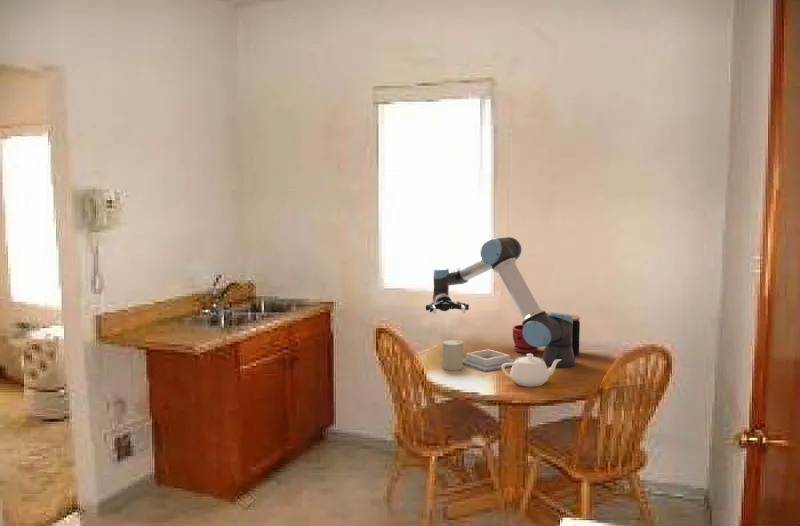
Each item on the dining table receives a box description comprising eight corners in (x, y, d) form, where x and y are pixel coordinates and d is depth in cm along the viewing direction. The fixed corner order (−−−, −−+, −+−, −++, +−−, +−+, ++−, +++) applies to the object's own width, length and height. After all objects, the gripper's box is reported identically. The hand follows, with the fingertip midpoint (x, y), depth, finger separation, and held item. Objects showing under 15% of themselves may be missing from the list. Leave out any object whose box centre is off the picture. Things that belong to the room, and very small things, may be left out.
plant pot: (506, 350, 325) (507, 326, 324) (527, 346, 332) (527, 323, 330) (524, 355, 314) (524, 331, 313) (545, 352, 320) (545, 328, 319)
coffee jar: (583, 355, 314) (584, 318, 312) (563, 356, 311) (564, 319, 309) (571, 350, 324) (572, 314, 322) (552, 351, 321) (552, 315, 319)
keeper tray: (522, 364, 298) (522, 355, 298) (485, 372, 286) (485, 363, 286) (489, 354, 316) (489, 346, 316) (453, 361, 304) (453, 352, 304)
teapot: (505, 389, 262) (505, 359, 260) (497, 377, 277) (497, 349, 275) (567, 388, 263) (567, 358, 261) (555, 376, 278) (556, 348, 277)
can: (461, 370, 289) (461, 344, 287) (440, 369, 290) (440, 343, 289) (463, 365, 298) (464, 339, 296) (443, 364, 299) (443, 338, 298)
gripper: (468, 309, 323) (476, 318, 302) (418, 310, 321) (422, 319, 300) (468, 294, 322) (476, 302, 301) (418, 295, 321) (422, 302, 300)
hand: (449, 310), depth 301 cm, fingers open, 13 cm apart
